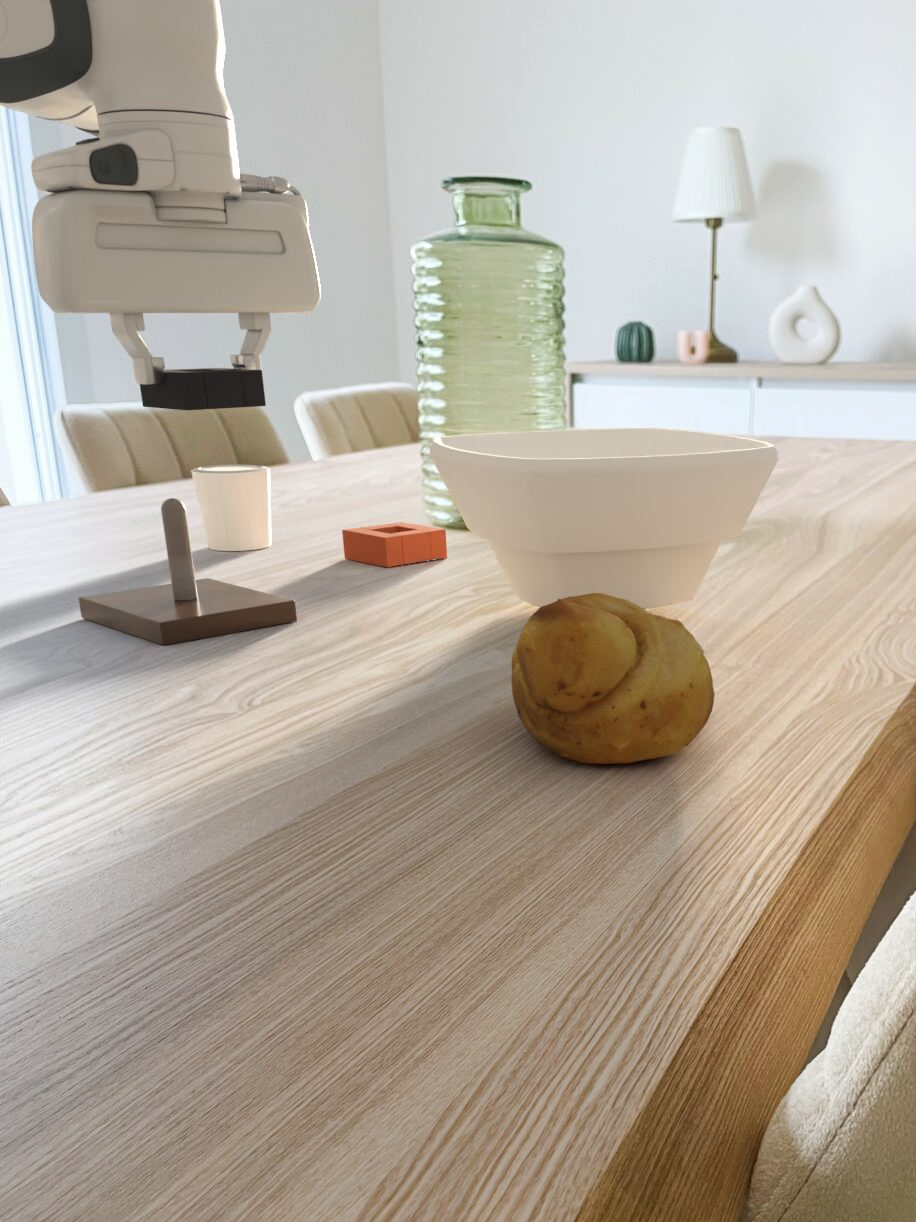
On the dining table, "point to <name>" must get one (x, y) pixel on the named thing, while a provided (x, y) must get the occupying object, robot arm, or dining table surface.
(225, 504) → the cream cup
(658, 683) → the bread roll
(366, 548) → the terracotta pad
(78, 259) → the robot arm
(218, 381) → the charcoal square ring
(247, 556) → the dining table surface
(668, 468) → the bowl
